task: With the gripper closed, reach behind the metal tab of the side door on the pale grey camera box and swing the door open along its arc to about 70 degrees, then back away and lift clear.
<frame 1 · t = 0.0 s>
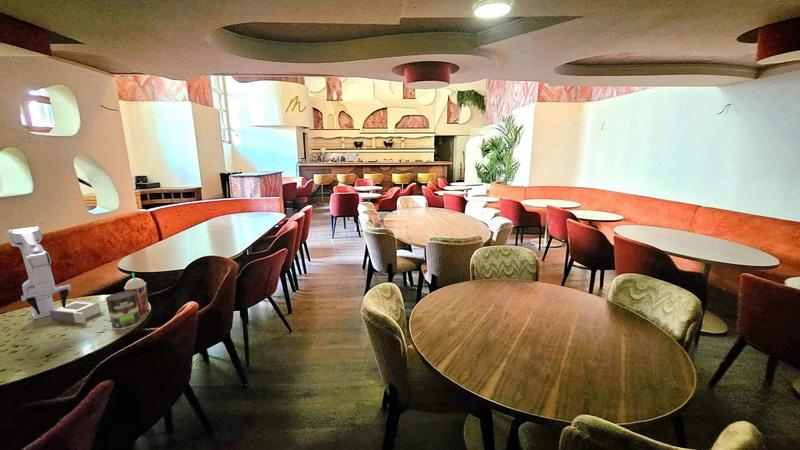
hand: (51, 310, 142), 10 cm above the table, tool pointing down, fingers open, 7 cm apart
smoothie: (140, 311, 162), on the table
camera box: (66, 320, 154), on the table
coffee can: (127, 324, 150), on the table
side door: (67, 316, 152), point 3 cm above the table, hinge at 0.0°
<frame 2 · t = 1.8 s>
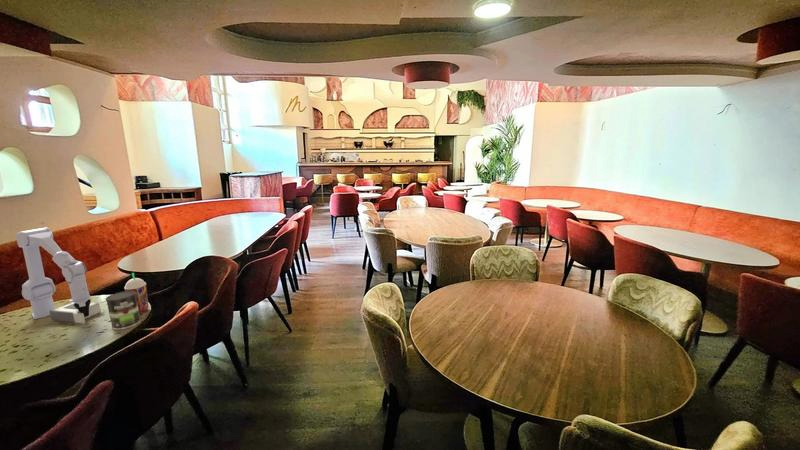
hand: (85, 316, 153), 2 cm above the table, tool pointing down, fingers closed
side door: (67, 316, 152), point 3 cm above the table, hinge at 0.4°, touching gripper
everything else where it was.
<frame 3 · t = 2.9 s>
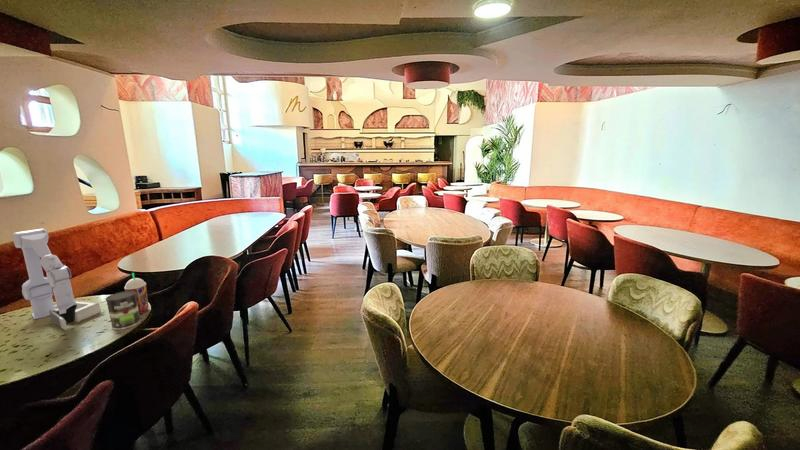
hand: (71, 322, 148), 2 cm above the table, tool pointing down, fingers closed
side door: (57, 319, 149), point 3 cm above the table, hinge at 19.9°, touching gripper
everything else where it was.
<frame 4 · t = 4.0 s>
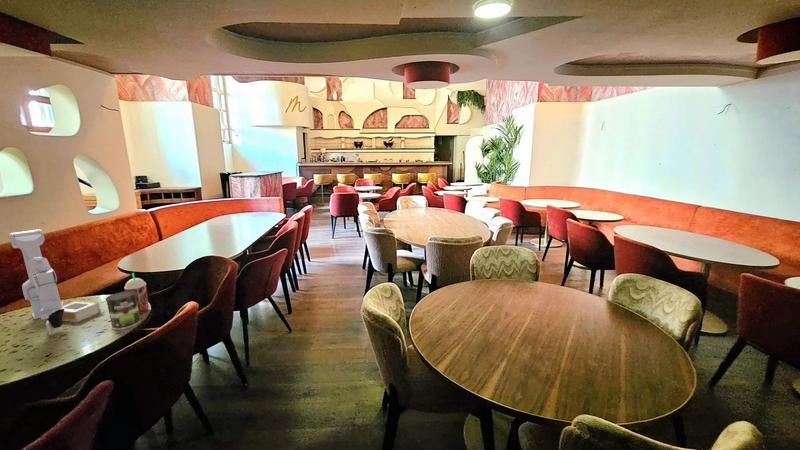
hand: (57, 327, 144), 2 cm above the table, tool pointing down, fingers closed
side door: (49, 322, 147), point 3 cm above the table, hinge at 35.1°, touching gripper
everything else where it was.
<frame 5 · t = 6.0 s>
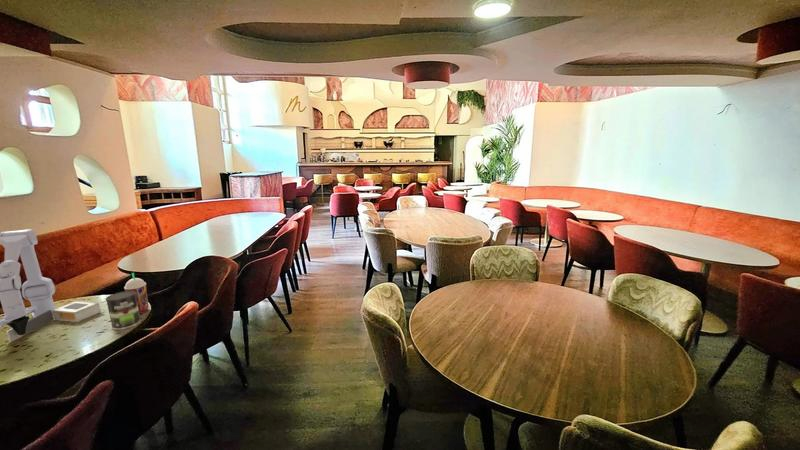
hand: (21, 334, 139), 2 cm above the table, tool pointing down, fingers closed, pressing on side door
side door: (31, 324, 145), point 3 cm above the table, hinge at 73.4°, touching gripper
everything else where it was.
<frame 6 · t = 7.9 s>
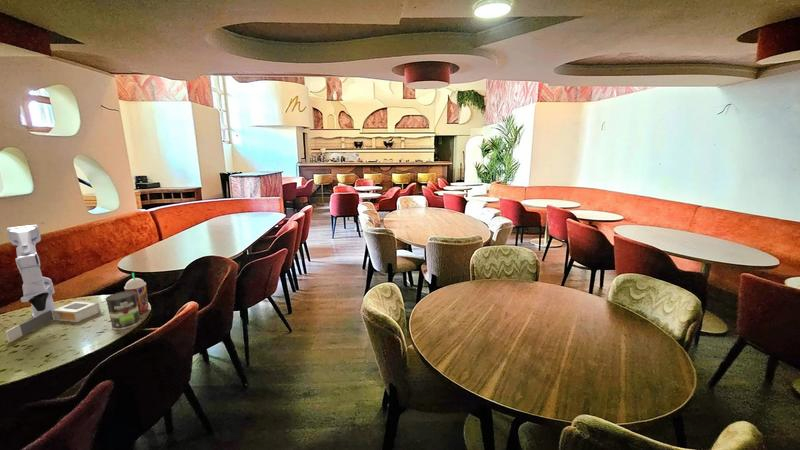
hand: (41, 310, 146), 9 cm above the table, tool pointing down, fingers closed
side door: (30, 324, 145), point 3 cm above the table, hinge at 74.5°
everything else where it was.
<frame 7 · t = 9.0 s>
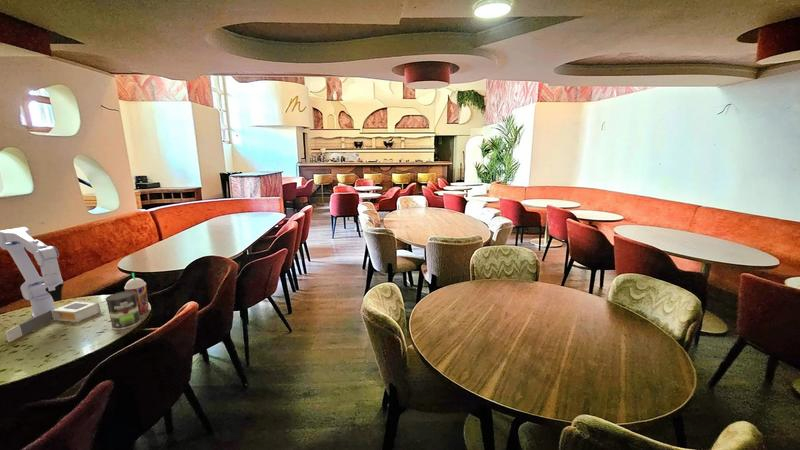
hand: (58, 300, 154), 9 cm above the table, tool pointing down, fingers closed
nothing on the table moved.
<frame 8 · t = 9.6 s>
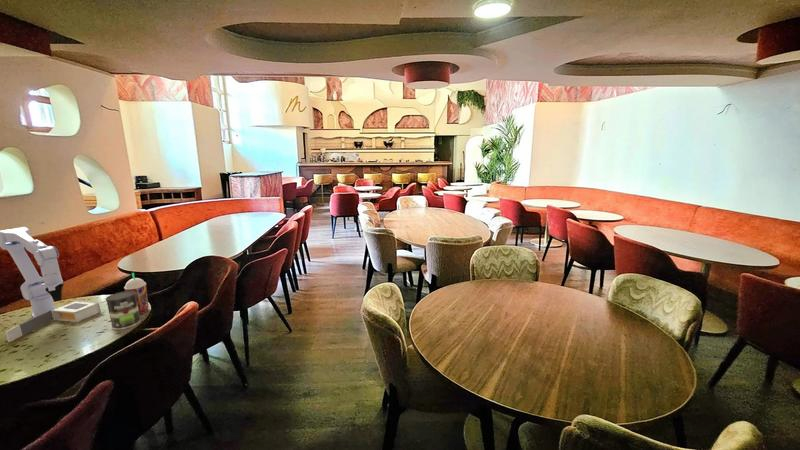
hand: (58, 300, 154), 9 cm above the table, tool pointing down, fingers closed
nothing on the table moved.
at the end: side door at +74° (first picture: +0°); the gripper is holding nothing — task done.
